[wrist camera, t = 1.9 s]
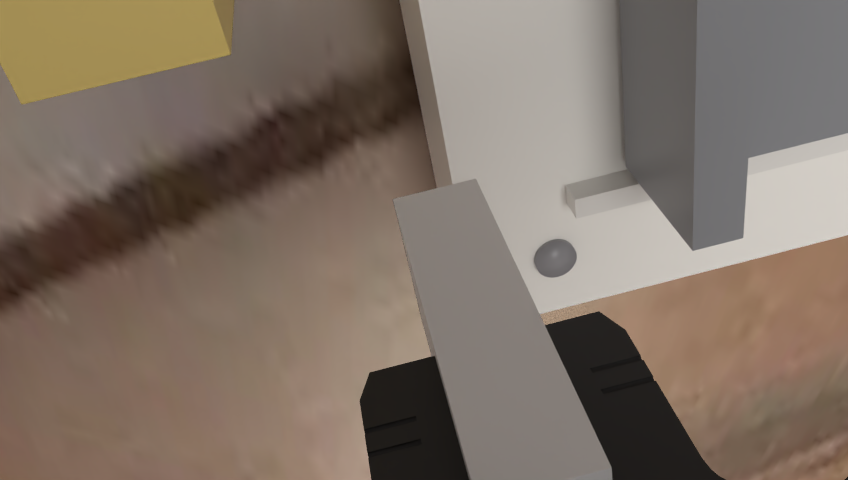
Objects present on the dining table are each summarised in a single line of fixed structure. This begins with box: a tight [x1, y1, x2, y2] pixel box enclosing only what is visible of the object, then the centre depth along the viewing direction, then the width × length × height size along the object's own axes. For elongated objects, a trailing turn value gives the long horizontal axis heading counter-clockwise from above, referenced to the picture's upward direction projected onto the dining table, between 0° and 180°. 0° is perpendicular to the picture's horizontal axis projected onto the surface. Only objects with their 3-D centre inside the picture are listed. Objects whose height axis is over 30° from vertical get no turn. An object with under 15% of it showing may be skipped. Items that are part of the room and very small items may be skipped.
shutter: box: [619, 0, 848, 251], centre depth 18 cm, size 7×7×4 cm
